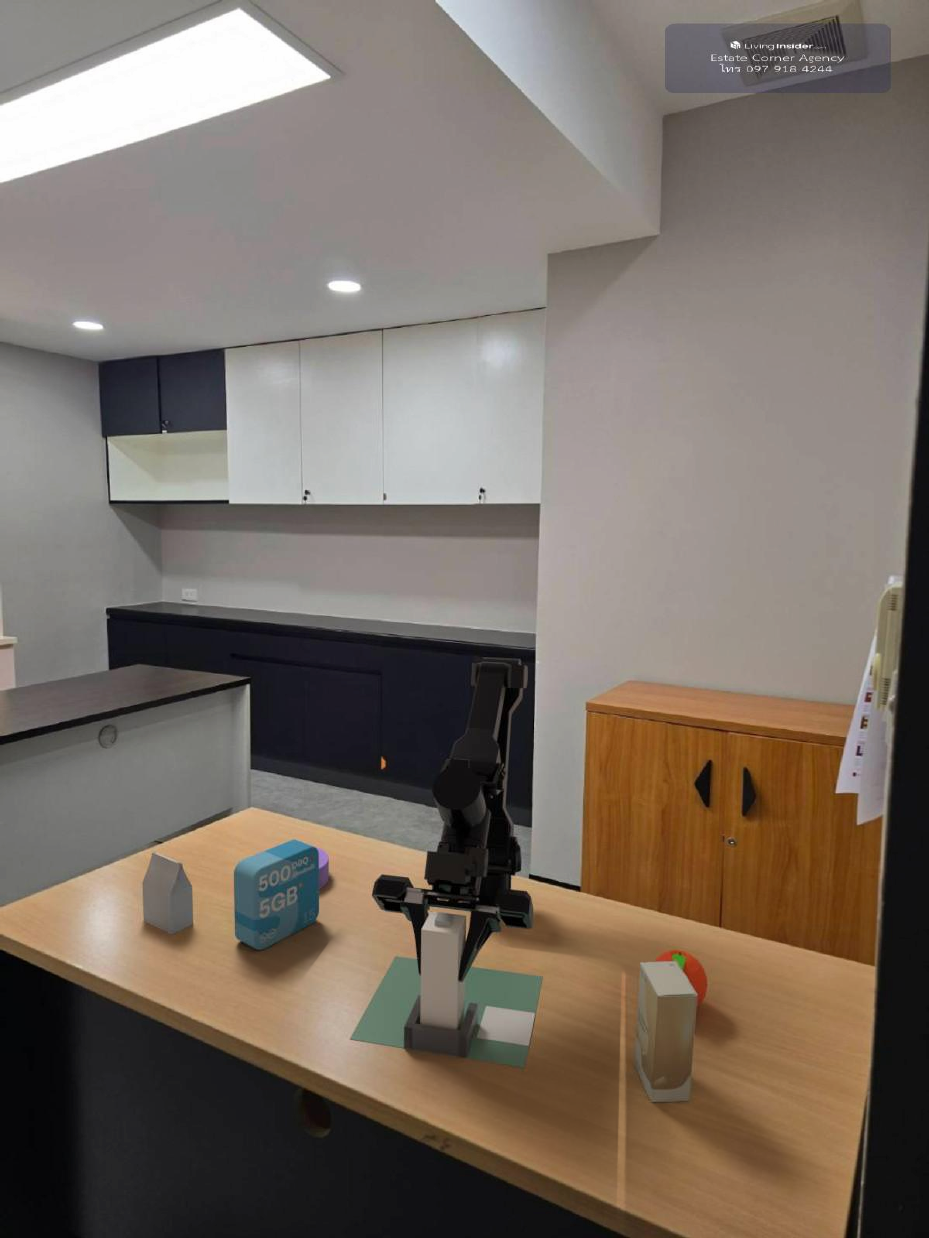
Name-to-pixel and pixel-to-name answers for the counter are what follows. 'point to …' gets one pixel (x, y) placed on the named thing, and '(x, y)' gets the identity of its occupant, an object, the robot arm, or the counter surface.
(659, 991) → the skincare box
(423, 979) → the white tall block
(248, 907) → the data package
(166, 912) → the grey milk carton
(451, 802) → the robot arm
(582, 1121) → the counter surface
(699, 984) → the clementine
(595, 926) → the counter surface
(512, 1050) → the board
